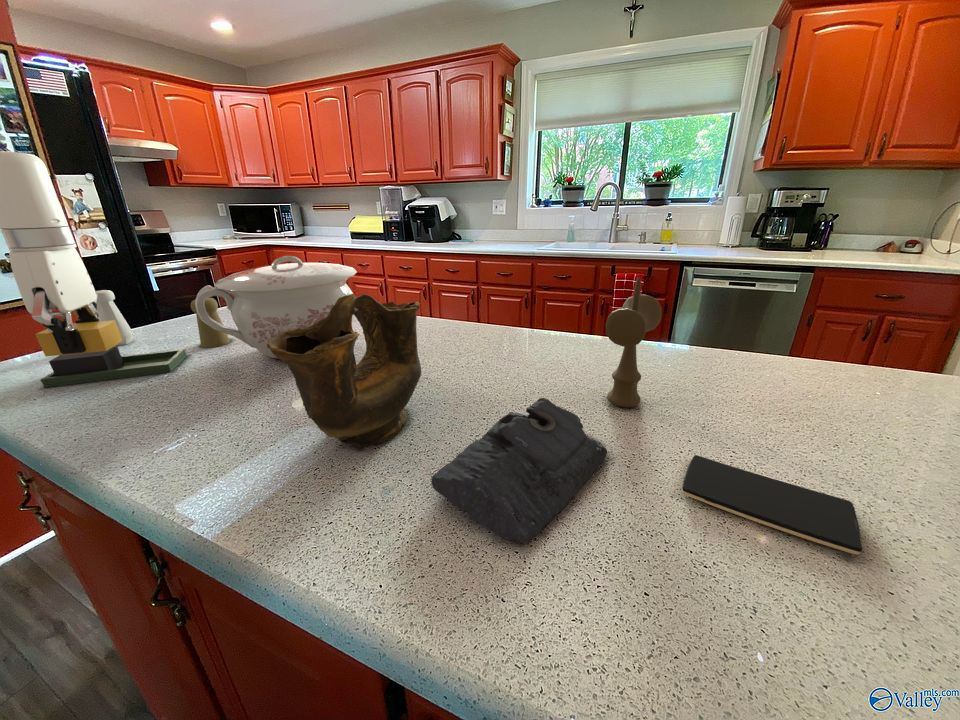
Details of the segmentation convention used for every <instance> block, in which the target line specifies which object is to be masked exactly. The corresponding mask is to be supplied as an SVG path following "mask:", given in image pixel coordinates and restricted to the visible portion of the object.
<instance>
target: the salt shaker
mask: <svg viewBox="0 0 960 720" xmlns="http://www.w3.org/2000/svg"><path fill="white" fill-rule="evenodd" d="M95 293H96V294H97V302H96V304H97V309H96V311H97V312H98V314H99V318H98V319H99V321H112V320H115V322H116V325H117V327H118V330H119V333H120V335H121V338H122V341H121V342H120V343H118V344H117V345H115V346H117V347H118V346H123V345H127V344H130V343H132V342H133V336H134V332H133V330H132V328H131V327H130V325H129V323H128V322H127V320H126V318H125V317H124V316H123V314H122V313H121V311H120V309H119V308H118V306H117V305H116V302H114V300H116V296H115V294H114V292H113V291H112V290H107V289H101V290H95Z"/></svg>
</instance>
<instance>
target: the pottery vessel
mask: <svg viewBox="0 0 960 720" xmlns="http://www.w3.org/2000/svg"><path fill="white" fill-rule="evenodd" d="M420 305H421V303H420V302H418V301H414V302H403V303H400V304H396V303H395V302H394V301H390V302H387V303H386V302H379V301H378V300H376V299H375V298H374V297H372V296H371V295H369V294H367V293H362V294H361V295H358V296H356V295H355V293H353V294H350V295H347V296H343V297H340V298H339V299H338V300H337V301H336V303H335V305H334V306H333V307H332V308H331V310H330V313H329V315H328V316H327V317H326V318H323V319H321V320H320V321H318V322H317V323H315V324H313V325H311V326H309V327H307V328H298V329H295V330H289V331H285V332H282V333H280V334H278V336H276V337H277V338H275V337H273V338H269V339H268V340H267V341H268V343H267V347H268V348H270V350H271V352H272V353H273V354H274V355H275V356H276V357H278V358H277V359H279V360H281V362H283V364H284V365H286V366H287V368H288V369H289V370H290V372H291V374H292V375H293V378H294V381H295V385H296V387H297V390H298V392H299V396H300V398H301V401H302V407H303V408H304V410H305V412H306V415H307V416H308V419H311V420H312V422H314V424H315V425H316V426H317V427H318V429H319V430H320V431H321V432H322V433H323V434H325V435H326V436H327V437H329V438H336V439H337V440H338V442H341V443H342V444H345V445H347V446H348V445H349V444H351V445H352V446H355V445H356V446H359V447H367V446H371V445H374V444H375V445H376V444H380V443H383V442H384V441H387V440H389V439H390V438H392V437H393V436H395V435H396V434H398V433H399V432H400V431H401V430H402V428H404V427H405V425H406V424H407V423H408V413H407V411H406V406H407V405H408V404H409V402H410V400H411V398H412V396H413V394H414V392H415V390H416V387H417V385H418V383H419V381H420V378H421V375H422V365H421V362H420V357H419V351H418V333H417V332H418V331H417V319H418V316H417V315H418V311H419V309H420ZM352 316H354V318H356V320H357V322H358V323H359V325H360V327H361V329H362V334H363V336H364V341H365V345H366V347H365V353H364V355H363V357H362V358H360V361H359V362H358V363H357V360H356V355H355V351H354V350H355V348H354V347H355V345H356V343H357V340H358V337H359V336H360V333H358V332H357V331H356V330H354V328H353V323H352Z"/></svg>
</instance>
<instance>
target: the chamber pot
mask: <svg viewBox="0 0 960 720" xmlns="http://www.w3.org/2000/svg"><path fill="white" fill-rule="evenodd" d="M284 262H288V263H284ZM289 262H290V263H289ZM357 273H358V272H357V270H356V269H355V268H354V267H352V266H347V265H343V264H339V263H328V262H303V261H302V259H300V258H298V257H297V256H293V255H283V256H280V257H278V258H275V259H274V260H273V262H272V263H271V265H265V266H260V267H255V268H251V269H245V270H242V271H239V272H234V273H232V274H230V275H227V276H225V277H223V278H220V279H218V280H217V281H216V282H215V284H214V287H213V286H212V285H205V286H204V287H202V288H201V289H200V290H199V291H198V293H197V294H196V297H195V300H196V301H195V306H196V311H197V314H198V315H199V317H200V319H201V320H202V321H203V322H205V323H206V324H208V325H209V326H210V327H212V328H213V329H215V330H217V331H220V332H223V333H226V334H227V335H228V336H232V337H234V338H236V339H238V340H240V341H241V342H243V343H244V344H247V346H249V347H251V348H252V349H253V348H254V349H256V350H257V351H258V352H260V354H262V355H263V356H266V357H269V358H272V359H279V358H278V357H276V356H275V355H274V354H273V353H272V352H271V350H270V348H268V347H267V343H268V341H267V340H268V339H269V338H273V337H275V338H277V337H276V336H278V334H280V333H282V332H285V331H289V330H295V329H298V328H307V327H309V326H311V325H313V324H315V323H317V322H318V321H320V320H321V319H323V318H326V317H327V316H328V315H329V313H330V310H331V308H332V307H333V306H334V305H335V303H336V301H337V300H338V299H339V298H340V297H343V296H347V295H350V294H354V293H353V291H352V290H351V288H350V287H349V286H348V284H347V280H348V279H350V278H353V277H354V276H355V275H356V274H357ZM213 297H219V298H223V299H224V301H225V304H226V308H227V310H229V311H230V313H231V317H232V320H233V323H234V324H235V326H236V328H234V327H229V326H226V325H224V324H223V325H221V324H220V323H218V322H217V321H215V320H213V319H212V318H211V317H210V316H209V314H208V313H207V311H206V308H205V299H206V298H213ZM354 320H355V315H354V316H352V324H353V323H354Z"/></svg>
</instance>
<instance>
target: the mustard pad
mask: <svg viewBox="0 0 960 720" xmlns="http://www.w3.org/2000/svg"><path fill="white" fill-rule="evenodd" d="M73 329H78V332H79V334H80V336H81V339H82V341H83V344H84V346H85V348H86V351H84V352H82V353H90V352H101V351H107V350H109V349H110V348H112V347H114V346H115V345H117V344H118V343H120V342H121V341H122V338H121V335H120V333H119V330H118V327H117V325H116V322H115V320H112V321H98V322H85V323H76V322H73ZM35 337H36V339H37V341H38V344H39V346H40V348H41V350H42V352H43V354H44V357H46V358H47V357H58V356H60V355H68V354H62V353H61V352H60V350H59V348H58V345H57V343H56V341H55V339H54V336H53V334H52V332H49V331H48V329H47V328H46V329H44V330H41V331H39V332H36V333H35ZM72 354H79V353H72Z"/></svg>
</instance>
